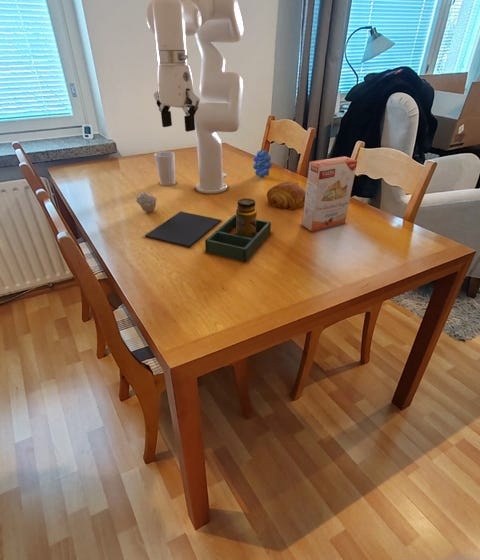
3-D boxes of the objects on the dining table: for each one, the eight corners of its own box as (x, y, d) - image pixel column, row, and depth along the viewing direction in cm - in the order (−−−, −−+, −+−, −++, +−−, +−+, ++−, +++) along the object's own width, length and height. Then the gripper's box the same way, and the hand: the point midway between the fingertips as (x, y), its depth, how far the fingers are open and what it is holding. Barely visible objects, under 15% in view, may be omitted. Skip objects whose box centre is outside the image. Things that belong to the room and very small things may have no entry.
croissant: (260, 208, 133) (258, 188, 128) (285, 191, 141) (284, 172, 136) (291, 218, 125) (290, 197, 120) (316, 200, 133) (316, 180, 128)
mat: (180, 213, 125) (180, 211, 124) (221, 221, 119) (220, 219, 119) (145, 237, 110) (145, 235, 109) (189, 247, 104) (189, 246, 104)
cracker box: (312, 233, 112) (320, 166, 100) (301, 225, 116) (307, 161, 104) (346, 224, 117) (358, 159, 105) (334, 217, 122) (344, 154, 110)
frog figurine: (136, 210, 127) (133, 191, 123) (156, 207, 129) (153, 188, 125) (139, 216, 122) (136, 197, 118) (160, 213, 124) (157, 194, 120)
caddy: (234, 226, 116) (234, 214, 114) (270, 233, 111) (270, 222, 109) (205, 252, 102) (204, 240, 99) (245, 262, 97) (245, 249, 95)
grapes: (277, 179, 154) (279, 151, 147) (265, 182, 151) (266, 153, 144) (261, 172, 162) (262, 145, 155) (249, 175, 158) (250, 147, 152)
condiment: (261, 239, 108) (263, 202, 101) (238, 247, 104) (238, 209, 98) (248, 230, 113) (248, 194, 106) (225, 237, 109) (224, 200, 103)
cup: (154, 184, 148) (150, 155, 141) (164, 178, 154) (161, 150, 148) (171, 187, 146) (167, 157, 139) (180, 181, 152) (178, 152, 145)
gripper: (206, 59, 90) (209, 130, 100) (161, 57, 99) (168, 123, 109) (184, 59, 85) (190, 134, 95) (140, 58, 95) (149, 126, 104)
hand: (178, 128), depth 102 cm, fingers open, 9 cm apart
